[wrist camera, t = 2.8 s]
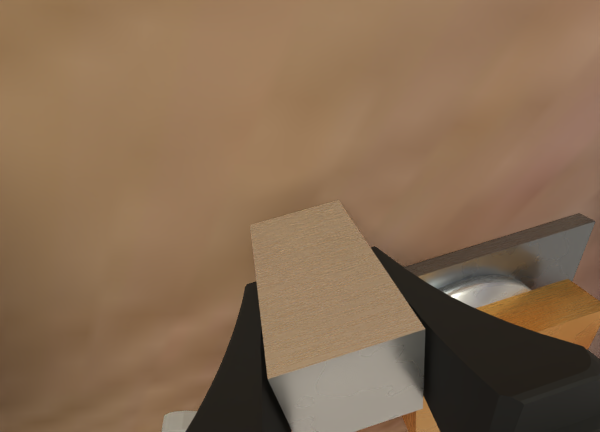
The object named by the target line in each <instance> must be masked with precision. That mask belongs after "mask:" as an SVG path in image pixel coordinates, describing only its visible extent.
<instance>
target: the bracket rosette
mask: <svg viewBox="0 0 600 432" xmlns="http://www.w3.org/2000/svg"><path fill="white" fill-rule="evenodd" d="M594 224H595V221H594V220H592V219H590V218H588V217H586V216H584V215H582V214H580V213H579V214H576V215H573V216H570V217H566V218H563V219H560V220H557V221H553V222H550V223H547V224H544V225H540V226H537V227H534V228H530V229H527V230H524V231H521V232H517V233H514V234H511V235H508V236H504V237H501V238H498V239H495V240H491V241H488V242H485V243H482V244H478V245H475V246H472V247H469V248H465V249H462V250H459V251H456V252H452V253H449V254H446V255H443V256H439V257H436V258H433V259H430V260H426V261H423V262H420V263H417V264H413V265H410V266H407V267H404V268H405V269H407V270H408V271H410V272H411V273H413V274H414V275H416V276H418V277H419V278H421V279H422V280H424V281H425V282H427V283H429V284H430V285H432V286H434V287H435V288H437V289H439V290H440V291H442V292H444V293H446V294H448V295H450V296H451V297H453V298H455V299H457V300H459V301H461V302H463V303H465V304H467V305H469V306H471V307H474V308H476V309H478V310H480V311H483V312H485V313H488V314H490V315H492V316H495V317H497V318H500V319H502V320H504V321H507V322H510V323H512V324H515V325H518V326H521V327H523V328H526V329H529V330H532V331H535V332H538V333H541V334H544V335H547V336H551V337H554V338H557V339H561V340H564V341H568V342H571V343H574V344H578V345H581V346H583V347H585V348H586V349H587V350H588V348H589V346H590V344H591V342H592V340H593V339H594V337H595V335H596V333H597V331H598V329H599V327H600V301H599V300H597V299H596V298H594V297H593V296H592V295H590V294H589V293H587V292H586V291H584V290H583V289H582V288H580V287H579V286H577V285H576V284H575V283H573V282H572V280H573V278H574V275H575V273H576V270H577V268H578V265H579V262H580V260H581V257H582V255H583V252H584V250H585V247H586V244H587V242H588V239H589V237H590V234H591V232H592V229H593V226H594ZM402 418H403V420H404V422H405V424H406V426H407V429H408V431H409V432H440V430H439V428H438V426H437V424H436V421H435V419H434V417H433V415H432V413H431V411H430V409H429V407H428V404H427V402H426V400H425V398H424V396H423V409H420V410H417V411H414V412H411V413H408V414H405V415H402Z"/></svg>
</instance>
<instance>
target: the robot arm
mask: <svg viewBox="0 0 600 432" xmlns="http://www.w3.org/2000/svg"><path fill="white" fill-rule="evenodd" d="M371 249H372V251H373V252H374V254H375V255H376V257H377V258H378V259H379V261H380V262H381V264H382V265H383V267H384V268H385V270H386V271H387V273H388V274H389V276H390V277H391V279H392V280H393V282H394V283H395V285H396V286H397V288H398V289H399V291H400V292H401V294H402V295H403V297H404V298H405V299H406V301H407V302H408V304H409V305H410V307H411V308H412V310H413V311H414V313H415V314H416V316H417V317H418V319H419V320H420V322H421V323H422V325H423V326H424V328H425V357H424V389H423V396H424V398H425V400H426V402H427V404H428V407H429V409H430V411H431V413H432V415H433V417H434V419H435V421H436V424H437V426H438V428H439V430H440V432H600V359H598V358H597V357H596V356H595V355H593V354H592V353H591V352H590V351H588V350H587V349H586V348H585V347H583V346H581V345H578V344H574V343H571V342H568V341H564V340H561V339H557V338H554V337H551V336H547V335H544V334H541V333H538V332H535V331H532V330H529V329H526V328H523V327H521V326H518V325H515V324H512V323H510V322H507V321H504V320H502V319H500V318H497V317H495V316H492V315H490V314H488V313H485V312H483V311H480V310H478V309H476V308H474V307H471V306H469V305H467V304H465V303H463V302H461V301H459V300H457V299H455V298H453V297H451V296H450V295H448V294H446V293H444V292H442V291H440V290H439V289H437V288H435V287H434V286H432V285H430V284H429V283H427V282H425V281H424V280H422V279H421V278H419V277H418V276H416V275H414V274H413V273H411V272H410V271H408V270H407V269H405V268H404V267H403V266H401V265H400V264H398V263H397V262H396V261H394V260H393V259H391V258H390V257H389V256H387V255H386V254H385V253H383V252H382V251H381V250H379V249H378V248H377V247H375V246H374V247H371ZM185 432H291V427H290V425H289V423H288V421H287V419H286V417H285V415H284V413H283V411H282V408H281V406H280V404H279V402H278V400H277V398H276V396H275V394H274V392H273V389H272V387H271V385H270V383H269V381H268V378H267V369H266V360H265V351H264V343H263V334H262V325H261V317H260V308H259V299H258V290H257V282H253V283H250V284H247V285H246V287H245V291H244V296H243V300H242V304H241V308H240V312H239V315H238V319H237V322H236V325H235V328H234V331H233V334H232V337H231V340H230V342H229V345H228V348H227V350H226V353H225V356H224V358H223V360H222V363H221V365H220V367H219V370H218V372H217V374H216V376H215V378H214V380H213V383H212V385H211V387H210V388H209V390H208V392H207V394H206V396H205V398H204V400H203V402H202V404H201V406H200V408H199V409H198V411H197V413H196V415H195V416H194V418H193V420H192V421H191V423H190V425H189V426H188V428H187V430H186V431H185Z"/></svg>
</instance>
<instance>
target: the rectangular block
mask: <svg viewBox="0 0 600 432" xmlns="http://www.w3.org/2000/svg"><path fill="white" fill-rule="evenodd" d="M250 229H251V238H252V247H253V255H254V264H255V273H256V282H257V290H258V299H259V308H260V317H261V325H262V334H263V343H264V351H265V360H266V369H267V378H268V381H269V383H270V385H271V387H272V389H273V392H274V394H275V396H276V398H277V400H278V402H279V404H280V406H281V408H282V411H283V413H284V415H285V417H286V419H287V421H288V423H289V425H290V427H291V429H292V432H355V431H358V430H361V429H364V428H367V427H370V426H373V425H375V424H378V423H381V422H384V421H387V420H390V419H393V418H396V417H399V416H402V415H405V414H408V413H411V412H414V411H417V410H420V409H423V389H424V357H425V328H424V326H423V325H422V323H421V322H420V320H419V319H418V317H417V316H416V314H415V313H414V311H413V310H412V308H411V307H410V305H409V304H408V302H407V301H406V299H405V298H404V297H403V295H402V294H401V292H400V291H399V289H398V288H397V286H396V285H395V283H394V282H393V280H392V279H391V277H390V276H389V274H388V273H387V271H386V270H385V268H384V267H383V265H382V264H381V262H380V261H379V259H378V258H377V257H376V255H375V254H374V252H373V251H372V249H371V248H370V246H369V245H368V243H367V242H366V240H365V239H364V237H363V236H362V234H361V233H360V231H359V230H358V228H357V227H356V225H355V224H354V222H353V221H352V219H351V218H350V217H349V215H348V214H347V212H346V211H345V209H344V208H343V206H342V205H341V203H340V202H339V200H336V201H333V202H329V203H326V204H322V205H319V206H315V207H312V208H308V209H305V210H301V211H298V212H294V213H290V214H287V215H283V216H280V217H276V218H273V219H269V220H266V221H262V222H259V223H255V224H252V225H250Z"/></svg>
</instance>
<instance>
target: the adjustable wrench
mask: <svg viewBox="0 0 600 432" xmlns="http://www.w3.org/2000/svg"><path fill="white" fill-rule="evenodd" d="M196 413H197V411H177V412H170V413H168V414H166V415H164V420H163V426H162V432H185V431H186V430H187V428H188V426H189V425H190V423H191V421H192V420H193V418H194V416H195V415H196Z"/></svg>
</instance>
